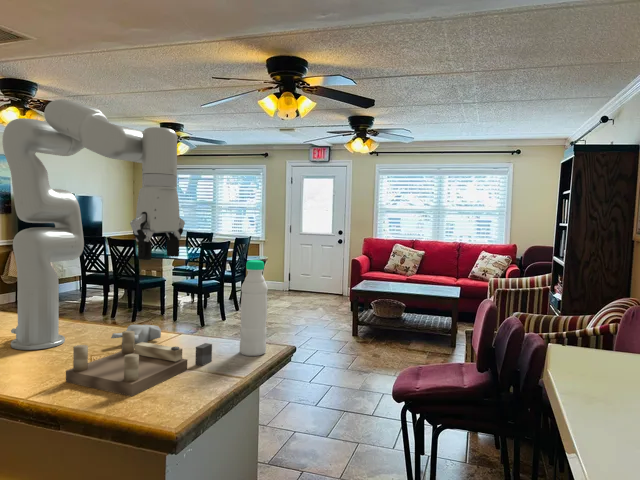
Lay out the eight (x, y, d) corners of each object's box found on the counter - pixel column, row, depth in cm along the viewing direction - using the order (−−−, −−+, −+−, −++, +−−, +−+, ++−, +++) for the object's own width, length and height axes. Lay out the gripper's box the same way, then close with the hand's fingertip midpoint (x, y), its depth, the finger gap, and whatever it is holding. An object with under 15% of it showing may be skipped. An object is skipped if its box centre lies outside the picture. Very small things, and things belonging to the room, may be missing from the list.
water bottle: (261, 358, 123) (263, 262, 121) (235, 355, 124) (237, 261, 123) (269, 350, 130) (271, 260, 128) (245, 348, 131) (247, 258, 130)
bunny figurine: (169, 324, 139) (138, 329, 125) (168, 341, 139) (136, 349, 125) (141, 321, 142) (107, 326, 127) (140, 338, 141) (106, 345, 127)
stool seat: (65, 381, 102) (66, 347, 101) (149, 350, 126) (150, 322, 125) (137, 397, 95) (137, 360, 94) (211, 361, 119) (212, 331, 118)
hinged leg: (182, 358, 111) (182, 346, 111) (175, 361, 109) (175, 349, 109) (141, 351, 116) (141, 340, 115) (134, 354, 113) (134, 342, 113)
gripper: (170, 185, 117) (170, 254, 118) (118, 180, 101) (118, 260, 102) (196, 185, 115) (195, 255, 115) (146, 180, 98) (146, 261, 99)
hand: (159, 257), depth 109 cm, fingers open, 9 cm apart
